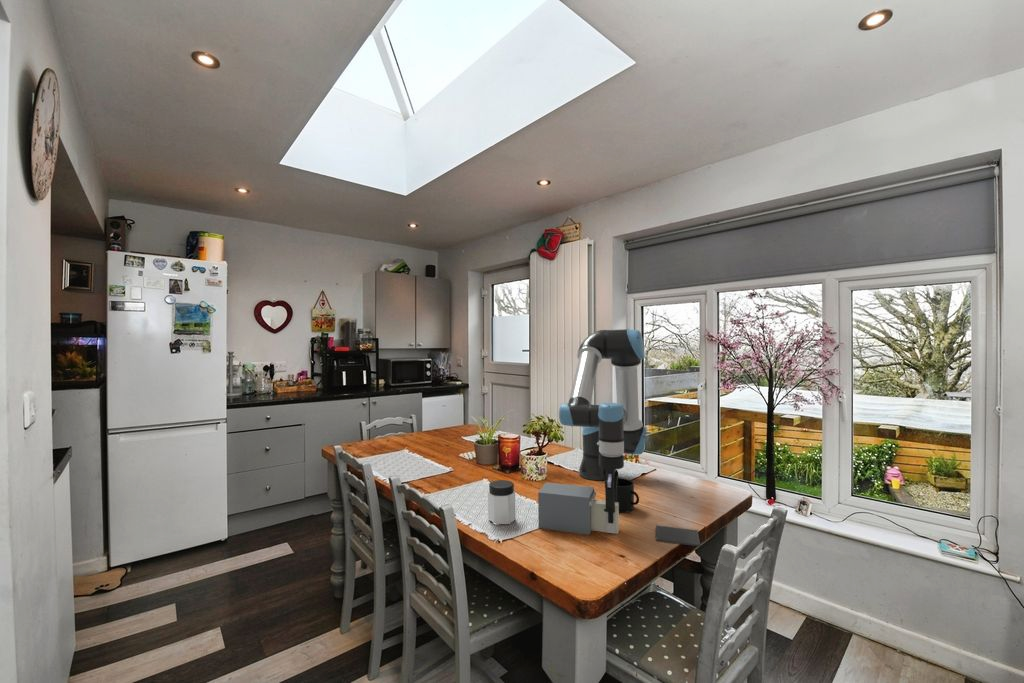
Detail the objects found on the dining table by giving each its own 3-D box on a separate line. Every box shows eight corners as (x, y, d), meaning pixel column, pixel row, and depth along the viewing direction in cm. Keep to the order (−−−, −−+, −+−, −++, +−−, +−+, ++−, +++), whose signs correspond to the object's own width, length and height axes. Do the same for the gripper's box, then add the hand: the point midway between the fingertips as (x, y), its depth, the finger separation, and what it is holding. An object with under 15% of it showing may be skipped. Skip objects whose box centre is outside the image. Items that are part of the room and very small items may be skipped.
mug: (632, 517, 144) (631, 490, 144) (601, 507, 152) (600, 482, 152) (645, 509, 150) (645, 483, 150) (615, 500, 159) (615, 476, 159)
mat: (656, 526, 136) (656, 525, 136) (697, 531, 132) (697, 530, 132) (656, 540, 127) (656, 539, 127) (700, 546, 123) (700, 545, 123)
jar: (515, 515, 146) (515, 479, 146) (515, 525, 138) (515, 487, 138) (489, 515, 146) (488, 479, 146) (487, 525, 138) (487, 488, 138)
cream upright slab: (577, 524, 139) (576, 497, 139) (618, 529, 135) (618, 502, 135) (575, 528, 136) (575, 501, 136) (617, 533, 132) (617, 505, 132)
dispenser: (546, 515, 146) (546, 482, 146) (596, 521, 140) (596, 487, 140) (538, 528, 136) (538, 492, 136) (591, 535, 131) (591, 498, 131)
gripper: (602, 446, 143) (602, 518, 143) (595, 459, 127) (595, 539, 127) (625, 448, 140) (626, 521, 140) (621, 461, 125) (622, 543, 125)
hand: (611, 529), depth 134 cm, fingers closed on cream upright slab, 3 cm apart
